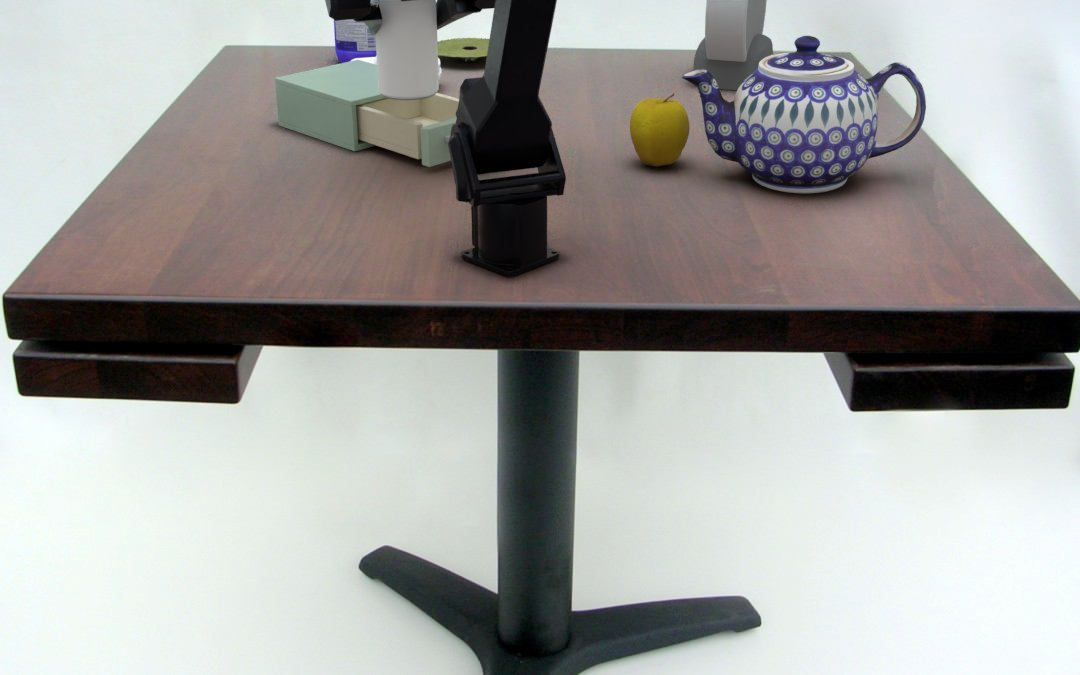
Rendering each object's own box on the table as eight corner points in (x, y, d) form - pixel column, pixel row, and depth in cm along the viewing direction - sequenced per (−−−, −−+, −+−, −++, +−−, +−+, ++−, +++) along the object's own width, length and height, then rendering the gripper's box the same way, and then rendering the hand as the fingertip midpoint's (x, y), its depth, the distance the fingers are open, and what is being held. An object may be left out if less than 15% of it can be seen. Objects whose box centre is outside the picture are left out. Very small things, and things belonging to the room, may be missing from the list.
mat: (461, 75, 181) (461, 60, 180) (412, 59, 189) (411, 45, 188) (526, 61, 188) (526, 47, 187) (476, 46, 195) (476, 33, 195)
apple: (697, 171, 145) (701, 97, 142) (640, 176, 143) (643, 102, 140) (675, 153, 151) (678, 82, 147) (620, 158, 149) (622, 86, 146)
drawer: (534, 154, 148) (534, 117, 146) (459, 177, 141) (458, 139, 139) (425, 120, 159) (423, 86, 157) (350, 140, 152) (348, 104, 150)
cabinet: (437, 128, 159) (435, 80, 157) (354, 151, 151) (351, 101, 149) (360, 105, 168) (358, 59, 166) (278, 125, 160) (274, 77, 158)
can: (367, 97, 145) (360, -18, 140) (398, 83, 151) (393, -28, 146) (420, 104, 143) (415, -13, 138) (449, 89, 148) (446, -24, 143)
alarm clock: (707, 60, 188) (714, -77, 181) (781, 65, 186) (792, -73, 178) (681, 89, 175) (687, -58, 167) (760, 96, 172) (771, -53, 164)
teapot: (904, 157, 149) (920, 21, 143) (932, 204, 136) (952, 56, 129) (674, 153, 150) (680, 18, 144) (680, 199, 137) (686, 52, 131)
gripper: (500, -136, 136) (469, -40, 150) (315, -128, 131) (300, -29, 145) (528, -43, 133) (493, 46, 147) (339, -30, 127) (322, 61, 141)
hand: (403, 29), depth 145 cm, fingers closed on can, 6 cm apart
